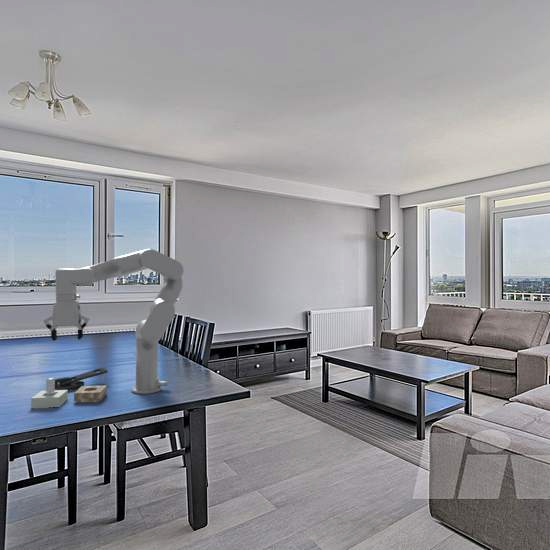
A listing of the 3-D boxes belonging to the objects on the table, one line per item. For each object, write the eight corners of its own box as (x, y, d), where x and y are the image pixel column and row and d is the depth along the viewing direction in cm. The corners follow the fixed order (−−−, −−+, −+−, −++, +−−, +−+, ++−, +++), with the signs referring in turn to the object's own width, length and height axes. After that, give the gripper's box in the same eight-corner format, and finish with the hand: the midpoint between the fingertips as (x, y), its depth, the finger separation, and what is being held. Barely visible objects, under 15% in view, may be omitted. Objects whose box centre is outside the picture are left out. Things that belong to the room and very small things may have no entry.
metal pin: (55, 402, 164) (55, 377, 164) (52, 404, 161) (53, 379, 161) (47, 402, 163) (47, 378, 163) (44, 405, 160) (45, 380, 160)
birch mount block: (106, 394, 175) (106, 385, 175) (100, 402, 165) (100, 392, 165) (81, 395, 173) (81, 386, 173) (74, 403, 163) (74, 393, 163)
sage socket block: (67, 399, 168) (67, 389, 168) (58, 407, 158) (58, 397, 158) (41, 400, 166) (41, 390, 166) (31, 408, 156) (31, 398, 156)
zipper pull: (109, 370, 191) (51, 379, 173) (109, 384, 191) (51, 395, 173) (101, 367, 197) (44, 375, 180) (101, 380, 197) (44, 390, 180)
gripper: (91, 297, 173) (91, 337, 173) (46, 298, 169) (47, 338, 170) (86, 298, 165) (87, 340, 166) (39, 299, 162) (41, 342, 162)
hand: (67, 339), depth 168 cm, fingers open, 9 cm apart
